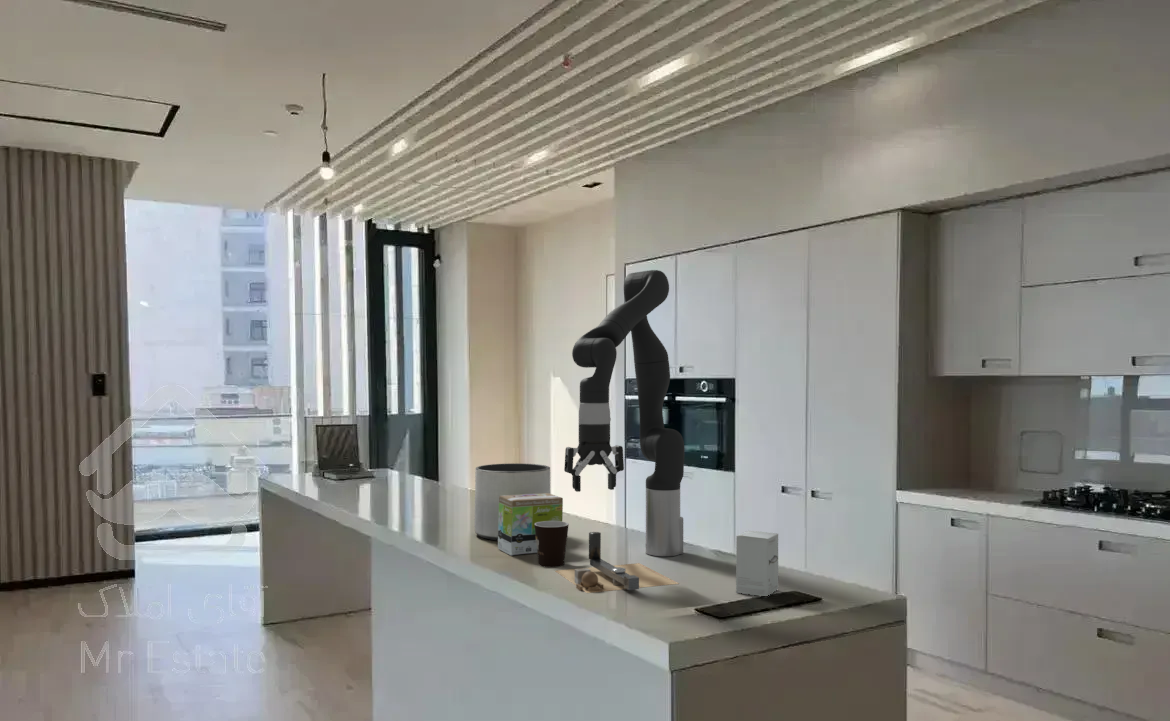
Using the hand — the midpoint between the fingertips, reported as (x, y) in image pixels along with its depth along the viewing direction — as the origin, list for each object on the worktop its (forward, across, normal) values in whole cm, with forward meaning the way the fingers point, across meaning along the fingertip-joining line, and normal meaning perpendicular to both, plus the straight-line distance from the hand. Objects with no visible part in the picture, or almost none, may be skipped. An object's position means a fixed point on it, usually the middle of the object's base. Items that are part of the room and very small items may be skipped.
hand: (594, 490), depth 192 cm
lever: (+18, 0, +11) cm, 21 cm away
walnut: (+19, +7, +15) cm, 25 cm away
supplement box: (+20, -28, +26) cm, 43 cm away
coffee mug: (+20, +5, -16) cm, 26 cm away
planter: (+20, +5, -54) cm, 58 cm away
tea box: (+20, +6, -32) cm, 38 cm away
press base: (+20, -2, +8) cm, 22 cm away
